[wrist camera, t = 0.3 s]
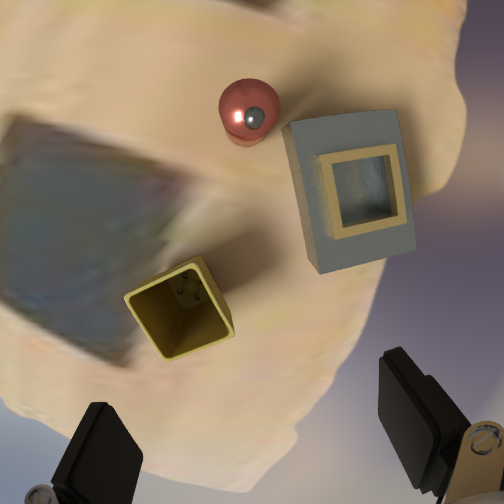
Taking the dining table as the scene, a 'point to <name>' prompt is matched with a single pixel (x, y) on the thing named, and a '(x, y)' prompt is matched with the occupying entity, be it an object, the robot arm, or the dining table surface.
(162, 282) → the flower pot
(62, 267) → the dining table surface
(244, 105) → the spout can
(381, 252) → the grey box with hole
